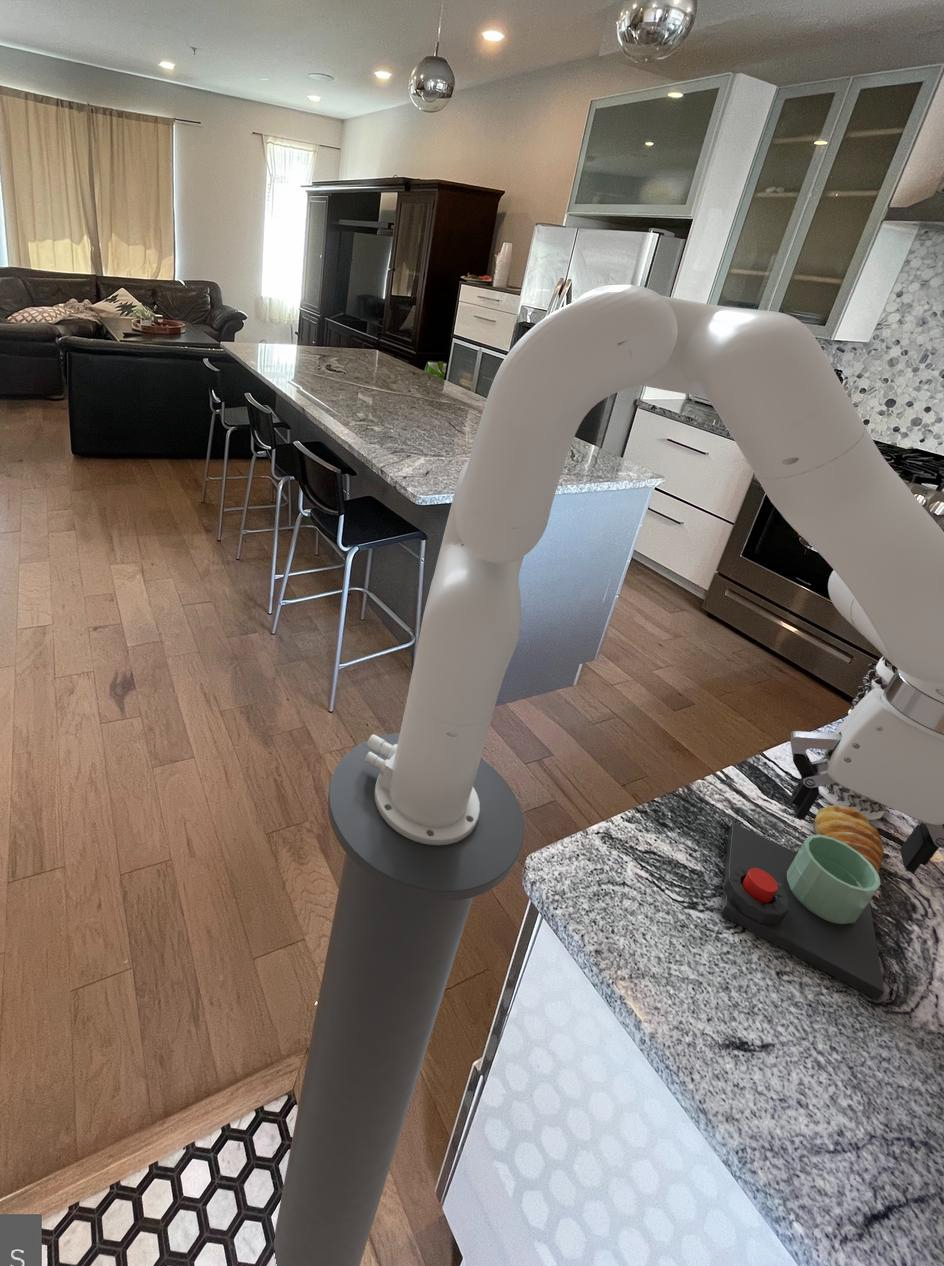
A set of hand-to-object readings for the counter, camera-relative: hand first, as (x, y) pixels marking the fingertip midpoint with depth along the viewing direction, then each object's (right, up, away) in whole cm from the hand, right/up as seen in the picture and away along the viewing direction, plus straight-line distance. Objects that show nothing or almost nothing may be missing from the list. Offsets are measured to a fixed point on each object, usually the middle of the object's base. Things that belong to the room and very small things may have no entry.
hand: (850, 835), depth 66 cm
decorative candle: (+16, -5, +22) cm, 27 cm away
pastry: (+9, -8, +12) cm, 17 cm away
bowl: (-1, -8, +3) cm, 9 cm away
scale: (-4, -9, +4) cm, 11 cm away
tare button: (-9, -7, +1) cm, 11 cm away
